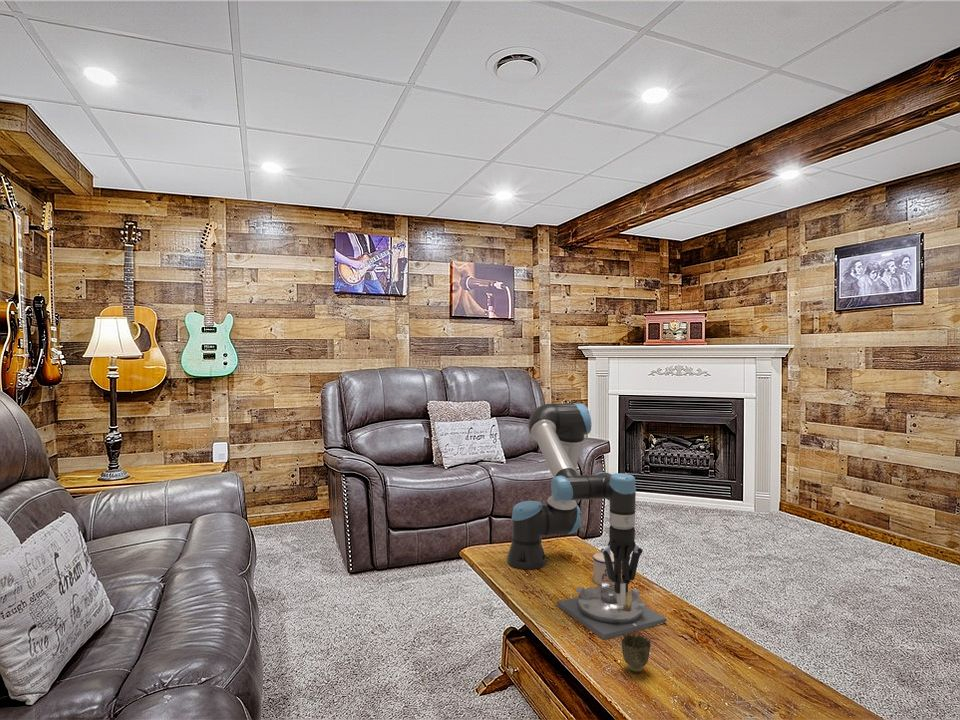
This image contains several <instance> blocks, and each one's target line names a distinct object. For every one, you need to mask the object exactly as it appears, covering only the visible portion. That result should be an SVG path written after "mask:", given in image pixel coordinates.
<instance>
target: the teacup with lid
mask: <svg viewBox="0 0 960 720" xmlns="http://www.w3.org/2000/svg"><path fill="white" fill-rule="evenodd" d="M610 553H611V555H610V557H611V560H612V565H613V570H614V557H613V555H614V554H613V553H612V552H610ZM592 558H593V569H592V570H593V572H592V573H593V579H592V580H593V582H594V583H595V584H597V585H598V586H602V585H601V582H609V586H610V587H614V586H615V582H612V581H611V580H610V579H609V578H608V573H607V568H606V564H605V559H604V556H603V554H602V552H601V551H600V552H596V553H594V554H593V556H592ZM621 571H622V561H621Z"/></svg>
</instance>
